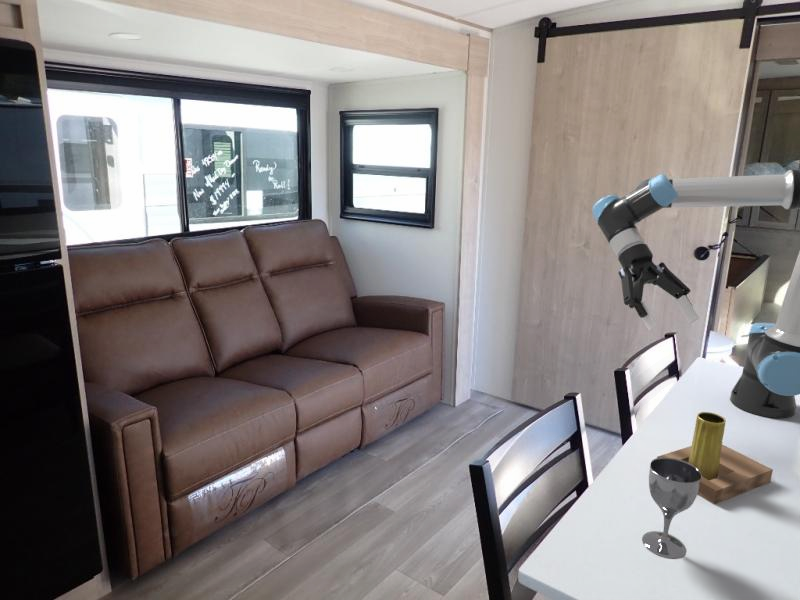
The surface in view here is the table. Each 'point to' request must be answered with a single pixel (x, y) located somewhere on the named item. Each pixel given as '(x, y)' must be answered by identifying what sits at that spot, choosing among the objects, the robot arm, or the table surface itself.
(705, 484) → the frame
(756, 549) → the table surface
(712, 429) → the vase
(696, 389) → the table surface
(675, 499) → the wine glass
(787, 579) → the table surface
